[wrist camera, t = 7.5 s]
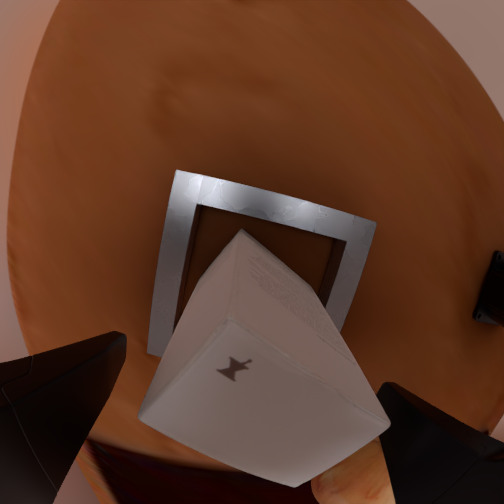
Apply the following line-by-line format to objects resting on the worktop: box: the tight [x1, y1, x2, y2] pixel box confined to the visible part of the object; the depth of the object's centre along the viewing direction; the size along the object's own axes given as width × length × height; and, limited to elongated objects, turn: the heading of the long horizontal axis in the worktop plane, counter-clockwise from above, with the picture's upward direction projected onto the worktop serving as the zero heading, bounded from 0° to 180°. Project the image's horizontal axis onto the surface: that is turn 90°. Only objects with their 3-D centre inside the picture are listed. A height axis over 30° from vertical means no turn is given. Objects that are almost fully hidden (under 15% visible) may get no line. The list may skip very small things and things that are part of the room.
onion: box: [311, 436, 395, 504], centre depth 16 cm, size 10×10×10 cm
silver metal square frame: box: [147, 170, 377, 357], centre depth 17 cm, size 11×11×2 cm
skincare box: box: [138, 229, 391, 487], centre depth 12 cm, size 6×4×12 cm
